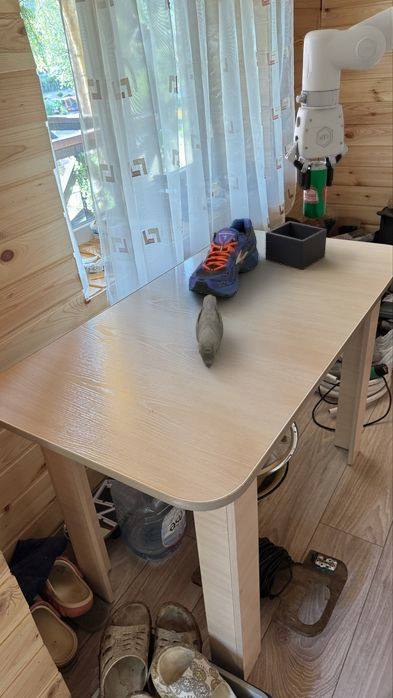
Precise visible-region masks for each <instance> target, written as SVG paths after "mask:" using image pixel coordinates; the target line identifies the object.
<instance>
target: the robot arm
mask: <svg viewBox="0 0 393 698" xmlns="http://www.w3.org/2000/svg"><path fill="white" fill-rule="evenodd" d="M391 50H393V5H392V6H390V7H388V8H386V9H384V10H382V11H380V12H377V13H376V14H373V15H372V16H370V17H368V18H365V19H364V20H362V21H360V22H358V23H356V24H354V25H352V26H351V27H349V28H348V29H343V30H340V29H337V28H328V29H317V30H316V29H315V30H311V31H308V32H307V33H306V34H305V36H304V39H303V60H302V82H301V83H302V87H301V89H302V90H301V91H300V95H296V98H295V101H296V103H297V104H299V103H300V105H301V106H300V107H298V110H297V113H296V114H297V115H296V119H295V125H294V133H293V144H292V146H290V149H289V150H288V152H287V153H286V154H285V156H284V157H285V160H287V161H288V162H289V163H291V164H292V165H293V167H294V168H295V169H296V171H298V175H297V176H298V179H297V184H298V187H299V189H301V190H303V191H304V190H305V191H306V190H308V186H309V172H307V168H308V165H309V162H310V161H311V160H315V159H321V158H324V161H325V162H326V163H327V164H326V165H327V167H328V176H327V188H330V187H333V185H332V184H333V181H334V171H335V168H336V167H337V165H338V163H339V162H340V161H341V159H342V158H343V157H344V156H345V155H346V153H348V152H349V147H348V145H347V144H346V142H345V121H344V120H345V119H344V109H343V105H342V104H340V103H339V99H340V87H341V75H342V73H341V72H342V70H352V71H366V70H370V69H372V68H374V67H375V66H376V65H377V64H379V62H380V61H381V60H382V59H383V58H384V55H385V53H387V52H389V51H391ZM296 156H297V157H298V159H297V158H296Z"/></svg>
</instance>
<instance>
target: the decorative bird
mask: <svg viewBox="0 0 393 698" xmlns="http://www.w3.org/2000/svg"><path fill="white" fill-rule="evenodd" d="M216 297H217V296H215V295H211V294H206V296H204V298H203V301H202V307H201V309H200V310H199V312H198V314H197V318H196V322H195V337H196V341H197V343H198V352H199V354H200V357H201V359H202V362H203V364H204V365H205V367H207V368H208V369H210V368H211V367H212V365H213V363H214V362H215V359H216V356H217V352H218V348H219V345H220V344H221V342H222V341H223V336H224V321H223V318H222V315H221V313H220V309H219V307H218V306H217V298H216Z"/></svg>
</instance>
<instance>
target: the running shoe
mask: <svg viewBox="0 0 393 698" xmlns="http://www.w3.org/2000/svg"><path fill="white" fill-rule="evenodd" d="M257 244H258V240H257V235H256V232H255V230H254V226H253V222H252V220H251V219H250V218H249V217H246V218H245V217H242V218H235V219H233V220H232V221H231V224H230V225H229V227H227V226H226V227H222V228H221V229H219V230H218V231H217V232H216V231H215V232H213V235H212V240H211V242H210V248H209V250H208V251H207V253H206V255H205V256H204V259H203V260H202V261H201V262H200V264H199V265H198V266H197V267H196V269H195V270H194V271H193V272H192V273H191V275H190V276H189V278H188V291H189V292H192V293H197V294H199V293H200V294H204V295H212V296H215V297H226V298H229V297H233V296H234V295H236V294H237V292H238V288H239V281H240V277H239V273H247V272H249V271H252V270H253V269H254V268H255V266H257V265H258V263H259V260H260V259H259V258H260V257H259V255H260V254H259V250H258V247H257V246H258V245H257Z"/></svg>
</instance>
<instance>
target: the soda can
mask: <svg viewBox="0 0 393 698" xmlns="http://www.w3.org/2000/svg"><path fill="white" fill-rule="evenodd" d="M326 164H327V163H326V162H325V160H310V162H309V165H308V168H307V172H309V186H308V190H306V191H305V190H303V201H302V203H303V204H302V215H303V216H304V217H305V218H306V219H312V220H315V219H320V218H323V217H324V216H325V214H326V207H327V206H326V205H327V192H328V191H327V190H328V186H327V176H328V167H327V165H326Z"/></svg>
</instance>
